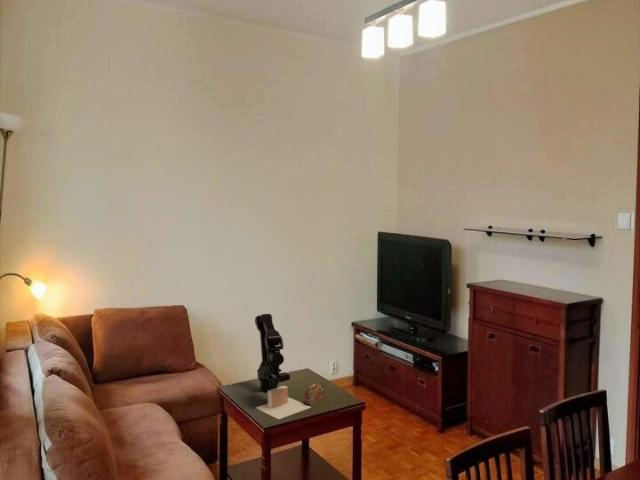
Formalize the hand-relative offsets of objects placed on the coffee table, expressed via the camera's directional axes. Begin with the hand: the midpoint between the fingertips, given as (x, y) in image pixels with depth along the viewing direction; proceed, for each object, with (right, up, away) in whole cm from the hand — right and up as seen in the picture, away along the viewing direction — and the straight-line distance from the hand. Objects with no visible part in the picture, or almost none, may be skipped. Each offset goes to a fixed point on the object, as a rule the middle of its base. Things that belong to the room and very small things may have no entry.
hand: (273, 390), depth 259 cm
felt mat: (+5, -7, -5) cm, 10 cm away
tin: (+20, -7, +4) cm, 21 cm away
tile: (+2, -6, -2) cm, 7 cm away
